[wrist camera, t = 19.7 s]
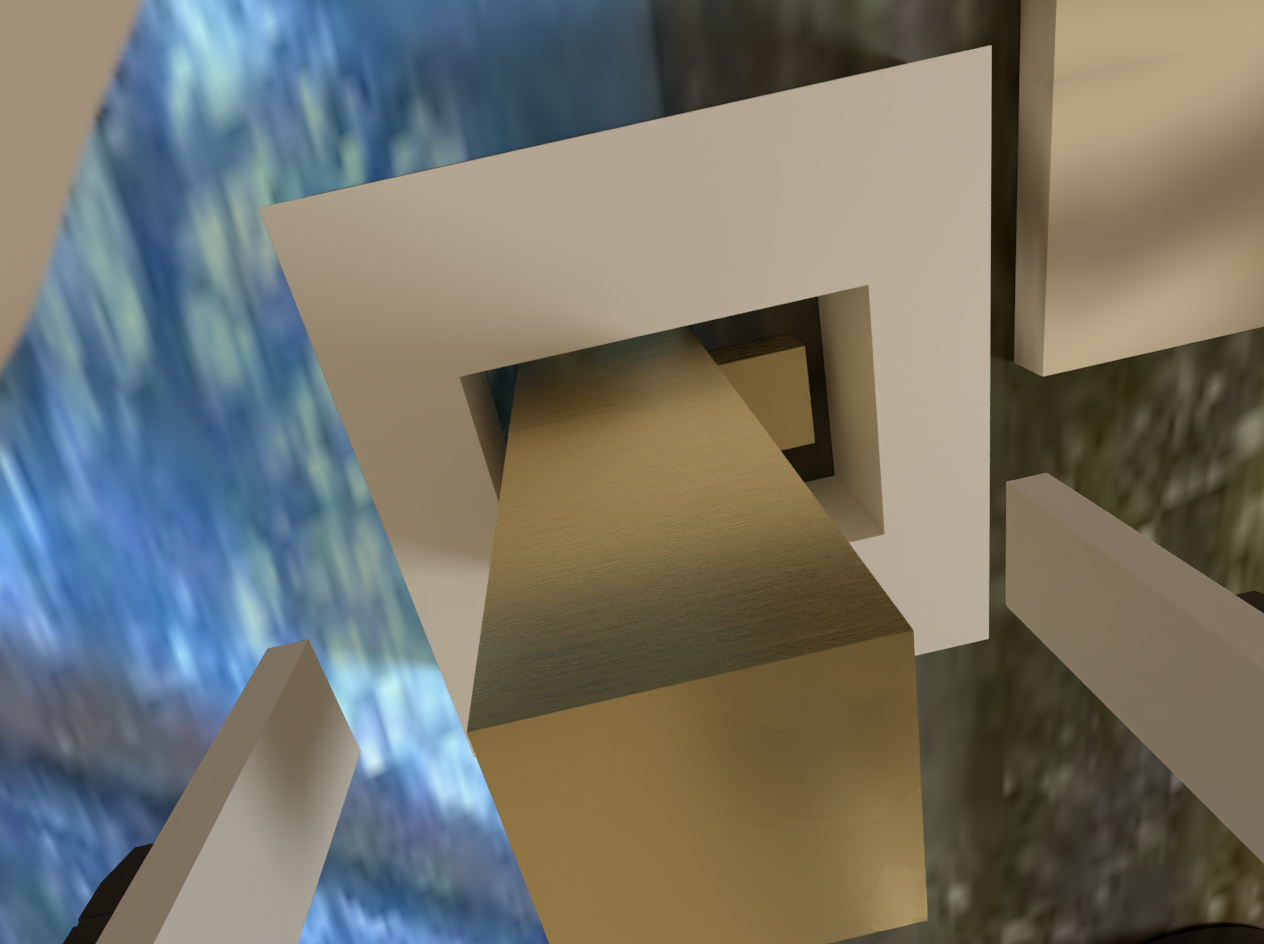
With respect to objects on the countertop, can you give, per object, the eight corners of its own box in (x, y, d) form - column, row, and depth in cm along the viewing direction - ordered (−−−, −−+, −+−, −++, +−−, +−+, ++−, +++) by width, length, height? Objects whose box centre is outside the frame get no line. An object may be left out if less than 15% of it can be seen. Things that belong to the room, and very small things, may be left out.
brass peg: (802, 453, 24) (1139, 870, 10) (559, 508, 24) (572, 1002, 10) (785, 300, 22) (1178, 569, 8) (519, 360, 22) (467, 732, 8)
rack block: (928, 569, 26) (988, 638, 23) (484, 671, 26) (474, 757, 22) (909, 62, 20) (991, 45, 16) (313, 194, 19) (258, 208, 16)
